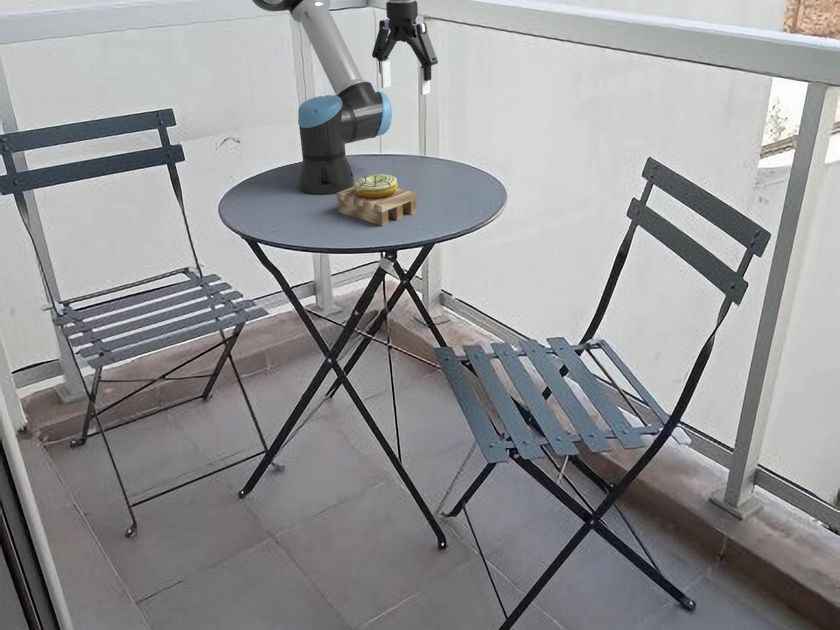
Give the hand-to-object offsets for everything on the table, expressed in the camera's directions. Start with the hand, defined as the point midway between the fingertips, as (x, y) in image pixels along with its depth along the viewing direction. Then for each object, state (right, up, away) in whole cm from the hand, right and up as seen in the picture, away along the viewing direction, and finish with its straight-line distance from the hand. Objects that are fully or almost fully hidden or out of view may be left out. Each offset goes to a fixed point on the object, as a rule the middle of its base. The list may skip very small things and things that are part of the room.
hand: (405, 90), depth 205 cm
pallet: (-7, -31, 0) cm, 31 cm away
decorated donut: (-7, -26, -3) cm, 27 cm away
